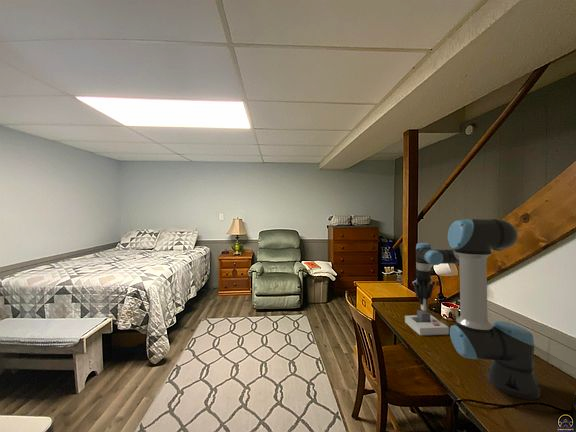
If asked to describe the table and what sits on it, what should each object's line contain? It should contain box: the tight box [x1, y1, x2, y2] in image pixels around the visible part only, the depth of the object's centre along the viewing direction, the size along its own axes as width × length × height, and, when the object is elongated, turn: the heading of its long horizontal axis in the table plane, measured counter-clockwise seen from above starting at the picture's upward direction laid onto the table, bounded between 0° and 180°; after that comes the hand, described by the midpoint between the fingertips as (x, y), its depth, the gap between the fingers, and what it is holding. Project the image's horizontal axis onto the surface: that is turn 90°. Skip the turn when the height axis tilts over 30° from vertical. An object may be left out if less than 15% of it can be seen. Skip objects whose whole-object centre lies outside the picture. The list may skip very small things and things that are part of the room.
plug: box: [416, 309, 431, 323], centre depth 145 cm, size 5×5×8 cm
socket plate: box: [404, 314, 450, 336], centre depth 143 cm, size 16×16×5 cm
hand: (423, 309), depth 145 cm, fingers closed
